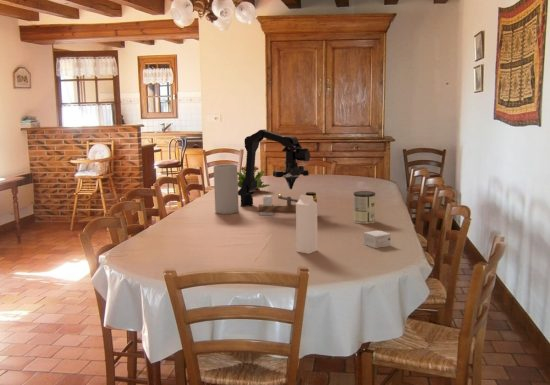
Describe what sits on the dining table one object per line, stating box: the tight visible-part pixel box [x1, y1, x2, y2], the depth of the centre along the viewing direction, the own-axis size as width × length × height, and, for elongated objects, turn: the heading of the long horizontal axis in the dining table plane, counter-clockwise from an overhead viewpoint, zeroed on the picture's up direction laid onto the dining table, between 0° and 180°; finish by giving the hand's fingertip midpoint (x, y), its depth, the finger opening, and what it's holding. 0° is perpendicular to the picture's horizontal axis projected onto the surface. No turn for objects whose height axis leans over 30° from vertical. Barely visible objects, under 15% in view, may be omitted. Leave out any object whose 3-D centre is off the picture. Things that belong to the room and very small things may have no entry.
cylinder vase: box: [213, 163, 240, 215], centre depth 285 cm, size 12×12×25 cm
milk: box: [295, 194, 318, 255], centre depth 206 cm, size 6×6×22 cm
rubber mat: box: [259, 212, 274, 217], centre depth 280 cm, size 7×7×1 cm
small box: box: [363, 229, 391, 249], centre depth 215 cm, size 8×8×5 cm
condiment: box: [305, 191, 320, 217], centre depth 272 cm, size 7×8×12 cm
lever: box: [277, 194, 299, 203], centre depth 288 cm, size 12×2×2 cm, turn 92°
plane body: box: [258, 196, 296, 213], centre depth 288 cm, size 20×6×7 cm, turn 92°
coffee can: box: [353, 190, 376, 225], centre depth 257 cm, size 10×10×14 cm
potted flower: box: [237, 165, 271, 193], centre depth 353 cm, size 25×24×18 cm
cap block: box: [262, 194, 273, 206], centre depth 288 cm, size 4×4×5 cm
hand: (290, 189), depth 287 cm, fingers closed
